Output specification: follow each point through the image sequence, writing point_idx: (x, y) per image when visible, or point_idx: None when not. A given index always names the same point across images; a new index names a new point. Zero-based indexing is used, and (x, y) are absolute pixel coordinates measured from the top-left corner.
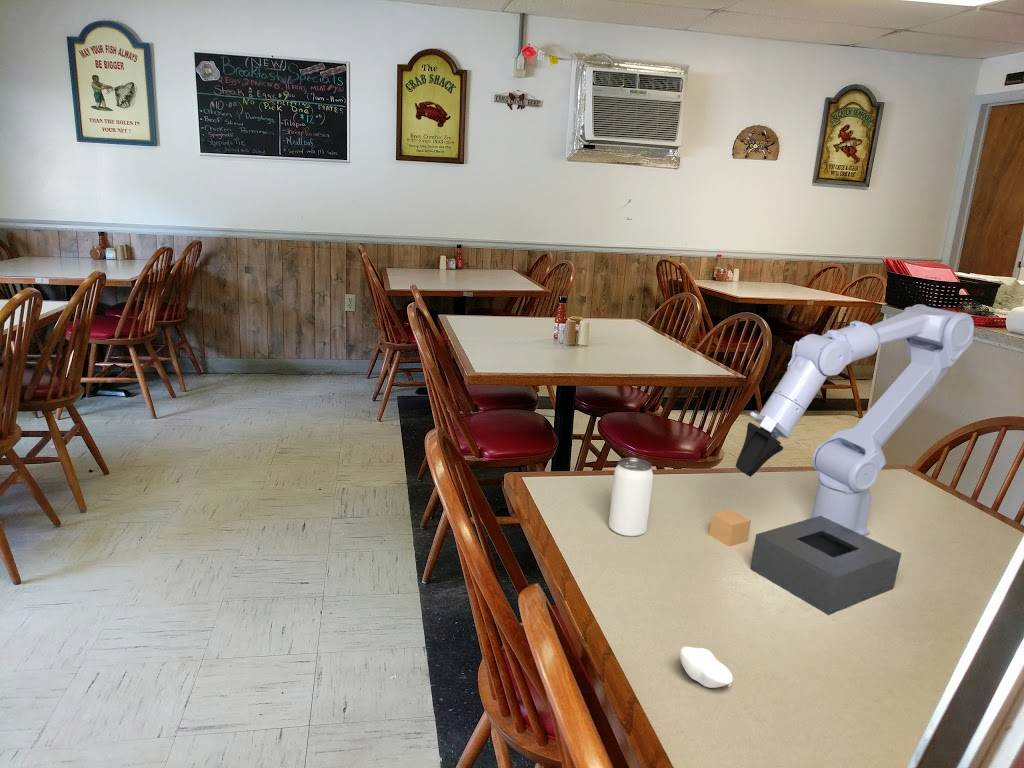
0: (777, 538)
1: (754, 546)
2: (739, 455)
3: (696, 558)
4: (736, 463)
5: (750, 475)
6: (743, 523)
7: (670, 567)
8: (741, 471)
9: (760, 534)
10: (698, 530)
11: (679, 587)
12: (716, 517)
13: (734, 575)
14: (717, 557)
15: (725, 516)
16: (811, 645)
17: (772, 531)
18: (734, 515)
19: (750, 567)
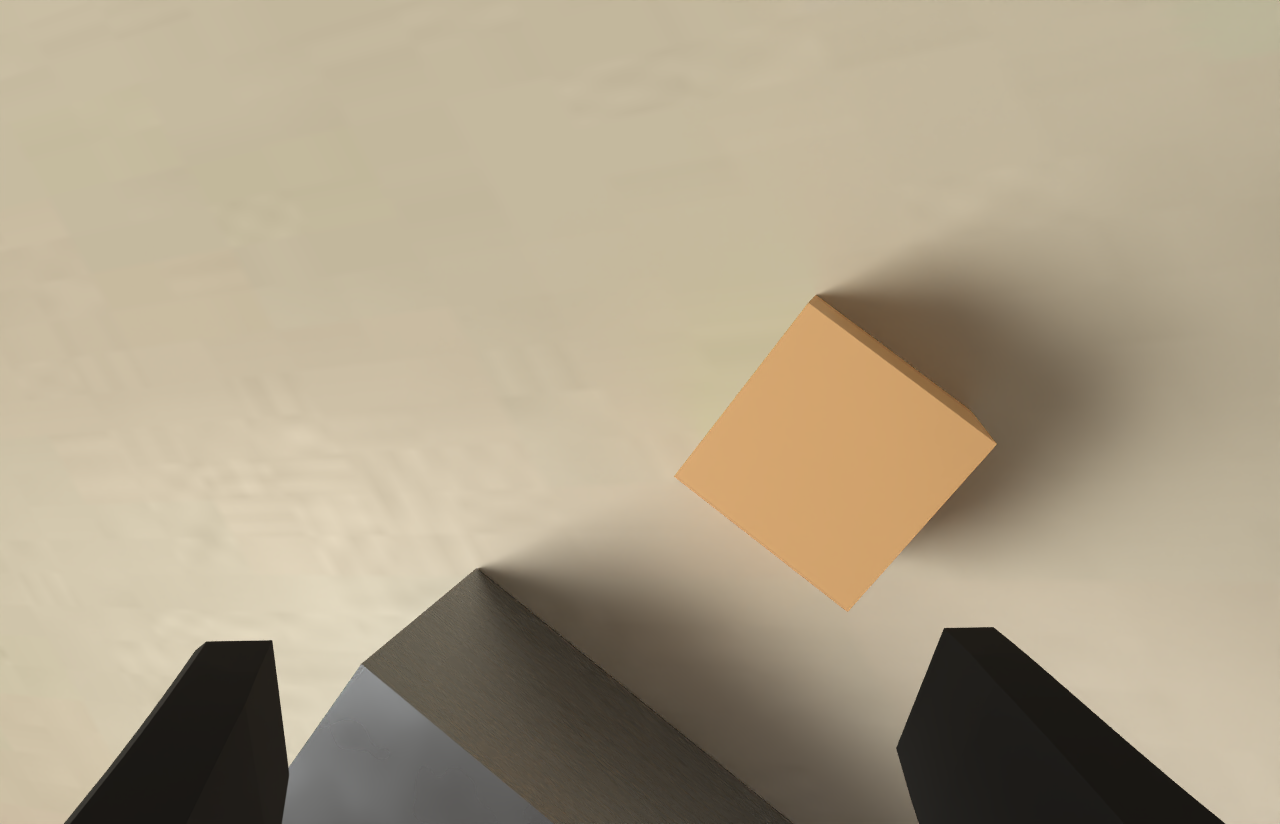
0: (376, 802)
1: (406, 627)
2: (100, 789)
3: (441, 262)
4: (179, 676)
5: (901, 760)
6: (779, 553)
7: (262, 138)
8: (934, 652)
9: (371, 694)
10: (857, 212)
11: (102, 227)
12: (778, 342)
13: (364, 487)
14: (518, 381)
15: (822, 412)
16: (2, 789)
17: (472, 779)
18: (881, 483)
19: (471, 572)
